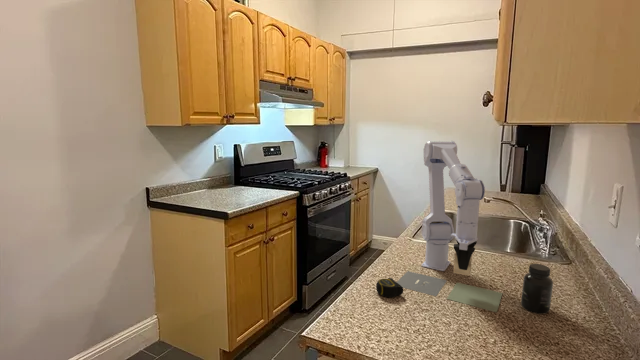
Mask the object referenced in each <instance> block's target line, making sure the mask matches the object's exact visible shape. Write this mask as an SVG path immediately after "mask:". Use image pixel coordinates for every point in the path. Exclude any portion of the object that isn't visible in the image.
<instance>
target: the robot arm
mask: <svg viewBox="0 0 640 360" xmlns="http://www.w3.org/2000/svg"><path fill="white" fill-rule="evenodd" d="M457 154H458V145H457V143H456V142H455V141H453V140H451V141H440V140H439V141H432V140H427V141H426V142H425V144H424V148H423V163H424V164H423V165H424V166H426V167H427V168H428V183H429V184H428V185H429V188H428V189H429V205H430V206H429V208H430V209H429V210H430V212H429V214H428V215H426V216H425V217H424V218H423V219H422V226H421V236H422V238H423V240H424V241H425V244H426V245H425V256H424V257H425V258H424V261H423V263H421V265H420V267H424V268H428V269H432V270H437V271H442V272H445V271H446V270H447V268H448V267H449V265H450V264H451V261H449V250H450V246H449V245H450V243H451V241H452V240H453V239H455V240H456V243H454V244H453V250H454V251H455V252H456V254H457V259H458V266H459V269H462V270H467V268H468V265H469V261H470V258H471V255H472V256H473V254H474V253H475V250H476V247H475V246H476V244H477V243H478V229H479V228H478V227H479V226H478V225H479V213H480V203H481V202H480V201H482V200H483V199H484V197H485V194H486V193H485V192H486V188H485V187H486V186H485V184H484V182H483V180H482V179H478V178H475V176H474V175H473V174H472V173H471V171H470V170H469V167H468V166H467V165H466V164H464V163H461V161H460V159H459V157H458V155H457ZM445 167H447V168H448V169H449V170H448V176H449V178H450V180H451V181H452V183H453V185H454V187H455V188H454V195H455V204H456V206H457V212H456V221H455V222H456V223H455V228H454V225H453V224H454V223H453V219H452V218H451V217H449V216H448V215H447V214H446V210H445V209H446V207H445V203H446V202H445V184H444V183H445V182H444V168H445ZM455 252H454V253H455Z"/></svg>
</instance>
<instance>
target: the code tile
mask: <svg viewBox="0 0 640 360" xmlns="http://www.w3.org/2000/svg"><path fill="white" fill-rule="evenodd" d="M396 282H397V283H398V284H399V285H401V286H402V287H403V289H406V290H412V291H415V292H418V293H423V294H425V295H430V296H433V297H437V296H438V295H439V294H440V292H441V290H442V288H443V287H444V286H445V284H446V283H447V279H443V278H440V277H435V276H430V275H426V274H422V273H418V272H414V271H410V270H407V271H406V272H405V273H404V274H403V275H402V276H401V277H400V278H399V279H398V280H397V281H396Z"/></svg>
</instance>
